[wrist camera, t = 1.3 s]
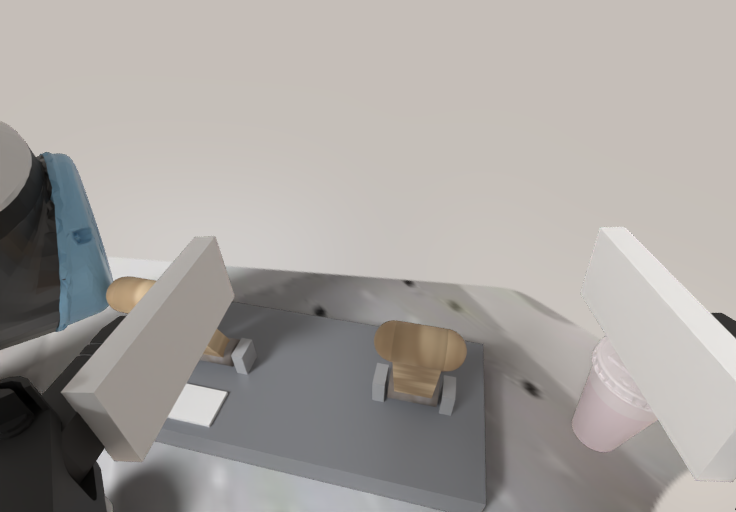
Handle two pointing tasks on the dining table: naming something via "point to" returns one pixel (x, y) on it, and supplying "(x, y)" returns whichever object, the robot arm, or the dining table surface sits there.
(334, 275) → the dining table surface
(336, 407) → the switch unit
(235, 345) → the lever
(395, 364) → the lever
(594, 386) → the smoothie
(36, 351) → the dining table surface
